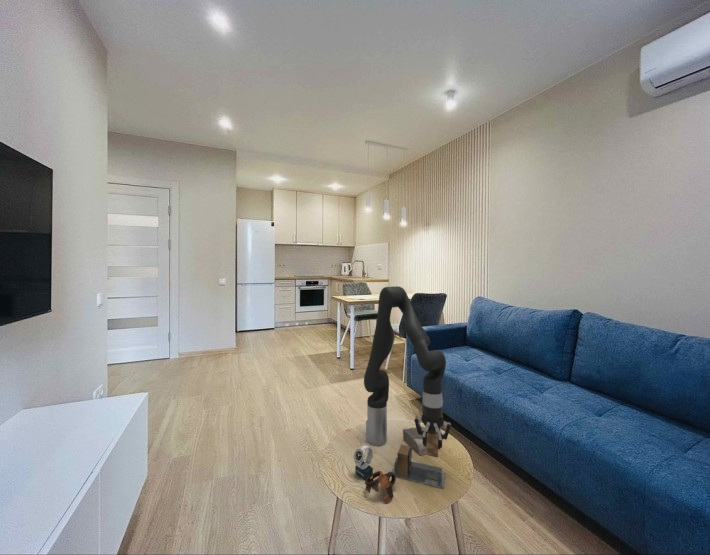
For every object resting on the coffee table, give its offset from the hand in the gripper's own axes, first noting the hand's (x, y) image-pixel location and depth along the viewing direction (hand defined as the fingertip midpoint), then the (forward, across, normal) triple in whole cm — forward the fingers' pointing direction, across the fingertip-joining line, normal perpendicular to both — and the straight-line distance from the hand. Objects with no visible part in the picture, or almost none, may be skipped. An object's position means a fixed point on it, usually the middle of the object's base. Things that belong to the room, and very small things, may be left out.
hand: (432, 446), depth 115 cm
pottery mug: (+13, -16, -14) cm, 25 cm away
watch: (+13, -26, -7) cm, 29 cm away
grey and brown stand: (+13, -6, 0) cm, 14 cm away
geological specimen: (+13, -8, +22) cm, 26 cm away
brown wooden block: (+2, 0, 0) cm, 2 cm away
